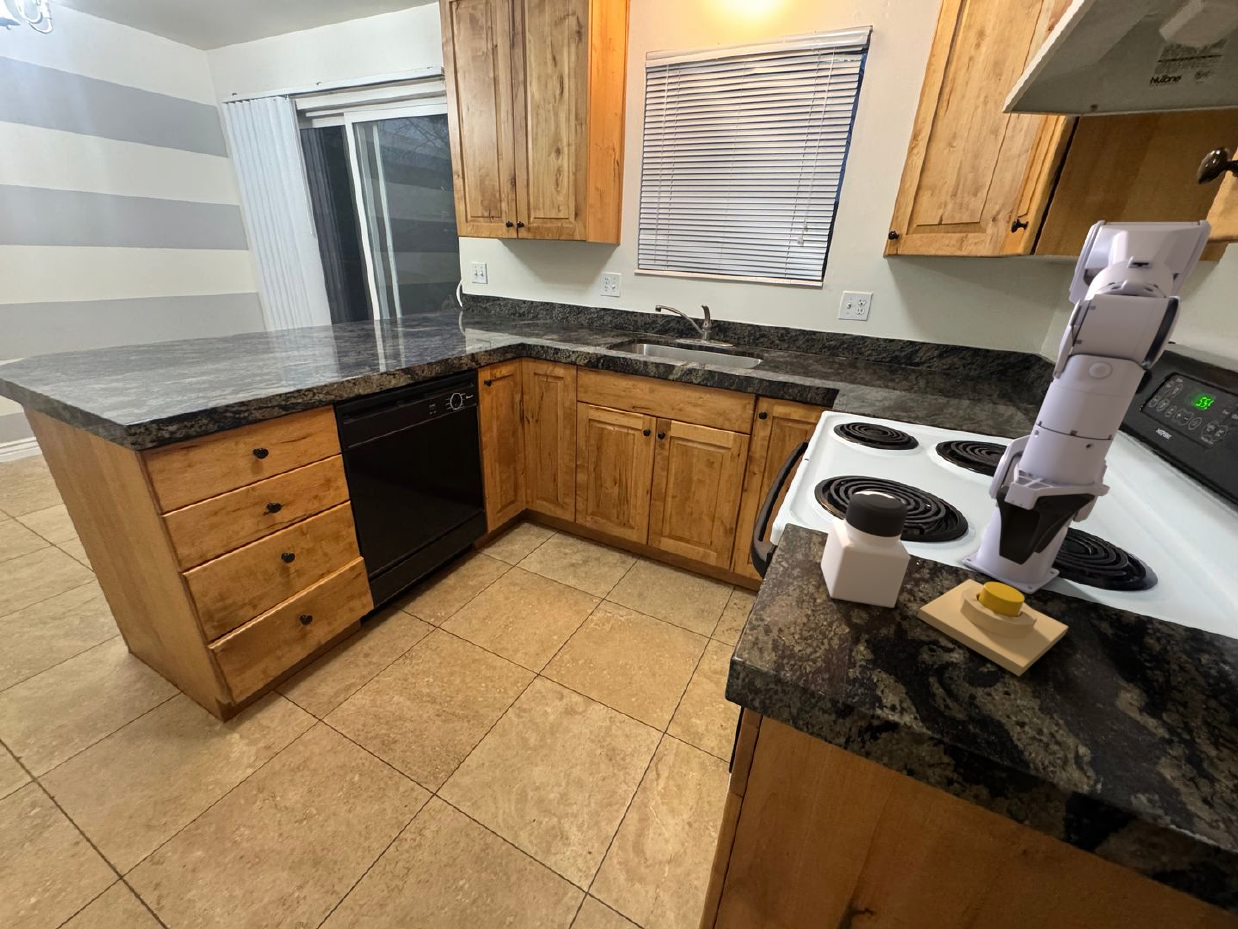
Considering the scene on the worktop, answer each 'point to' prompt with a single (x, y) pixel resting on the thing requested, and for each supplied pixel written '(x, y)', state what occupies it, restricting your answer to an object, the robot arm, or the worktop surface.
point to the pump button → (1001, 599)
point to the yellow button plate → (993, 627)
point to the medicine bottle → (867, 551)
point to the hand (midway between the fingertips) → (1020, 553)
